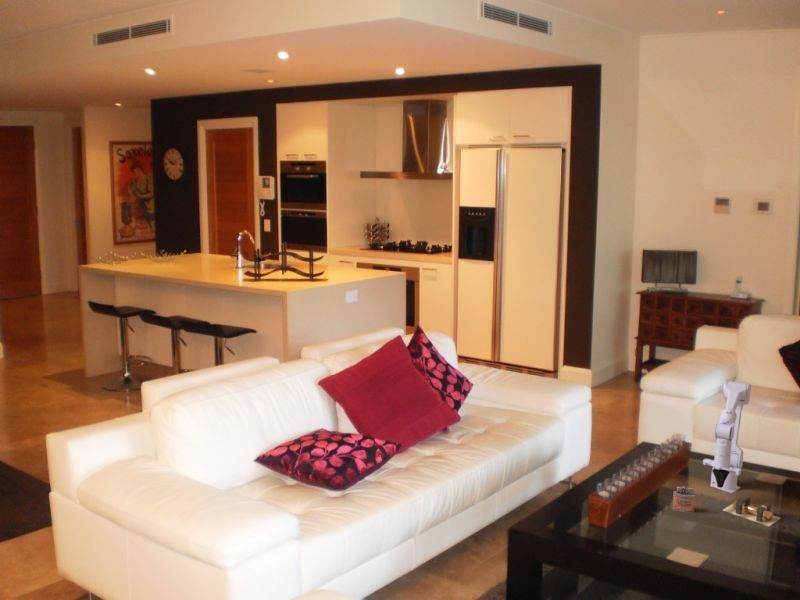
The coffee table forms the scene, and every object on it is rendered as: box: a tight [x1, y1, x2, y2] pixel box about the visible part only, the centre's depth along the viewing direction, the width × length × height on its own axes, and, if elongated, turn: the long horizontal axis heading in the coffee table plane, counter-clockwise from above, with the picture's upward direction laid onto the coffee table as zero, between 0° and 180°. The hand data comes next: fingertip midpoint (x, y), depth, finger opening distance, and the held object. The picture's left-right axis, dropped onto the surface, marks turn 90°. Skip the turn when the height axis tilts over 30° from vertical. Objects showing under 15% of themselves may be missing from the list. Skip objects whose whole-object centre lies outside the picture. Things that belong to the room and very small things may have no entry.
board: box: [722, 495, 781, 527], centre depth 317 cm, size 18×10×5 cm, turn 42°
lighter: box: [672, 486, 696, 514], centre depth 320 cm, size 8×3×10 cm, turn 68°
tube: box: [732, 500, 774, 520], centre depth 317 cm, size 14×3×3 cm, turn 42°
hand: (720, 486), depth 325 cm, fingers closed
